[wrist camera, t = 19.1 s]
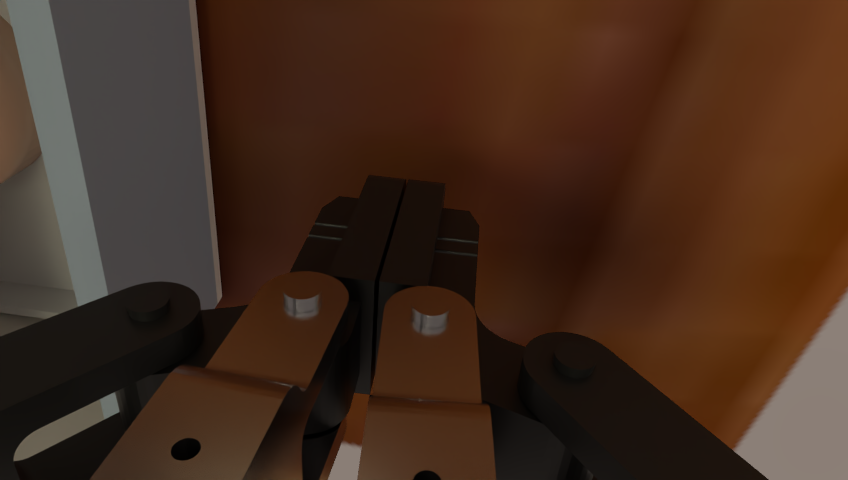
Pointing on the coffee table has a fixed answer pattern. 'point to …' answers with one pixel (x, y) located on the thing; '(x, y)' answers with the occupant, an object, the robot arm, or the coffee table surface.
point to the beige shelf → (11, 322)
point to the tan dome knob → (14, 111)
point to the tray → (105, 158)
